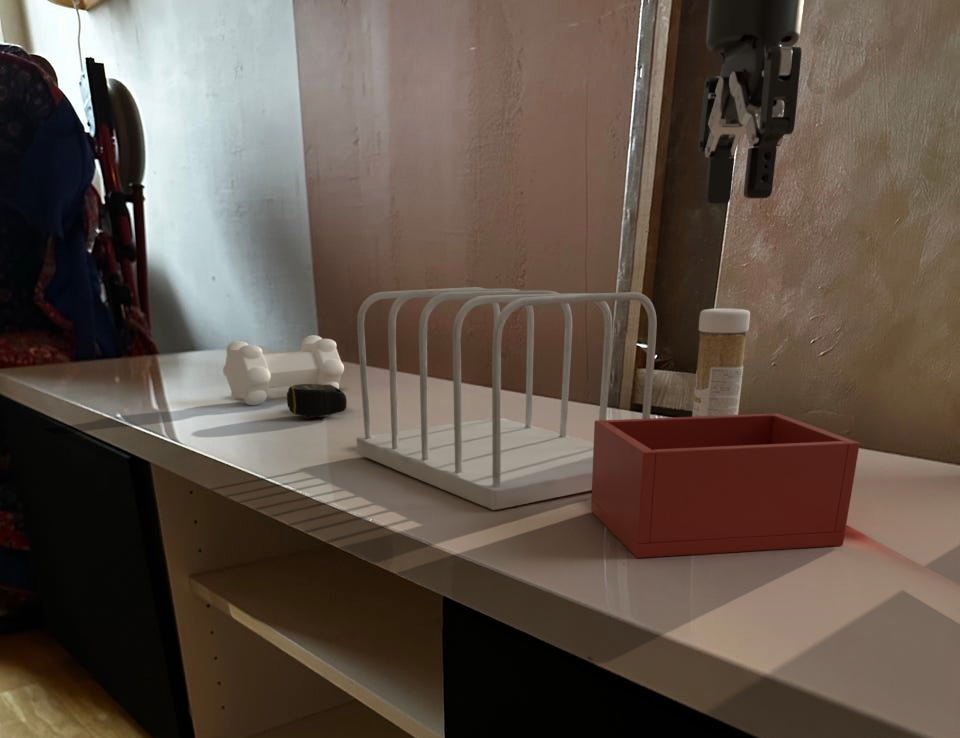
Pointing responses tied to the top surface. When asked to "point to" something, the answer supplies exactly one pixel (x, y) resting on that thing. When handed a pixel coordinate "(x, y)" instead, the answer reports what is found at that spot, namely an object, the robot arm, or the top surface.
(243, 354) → the bone shaped toy
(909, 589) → the top surface
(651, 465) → the red storage bin
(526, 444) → the file sorter
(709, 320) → the sprinkles bottle
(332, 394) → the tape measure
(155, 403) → the top surface
